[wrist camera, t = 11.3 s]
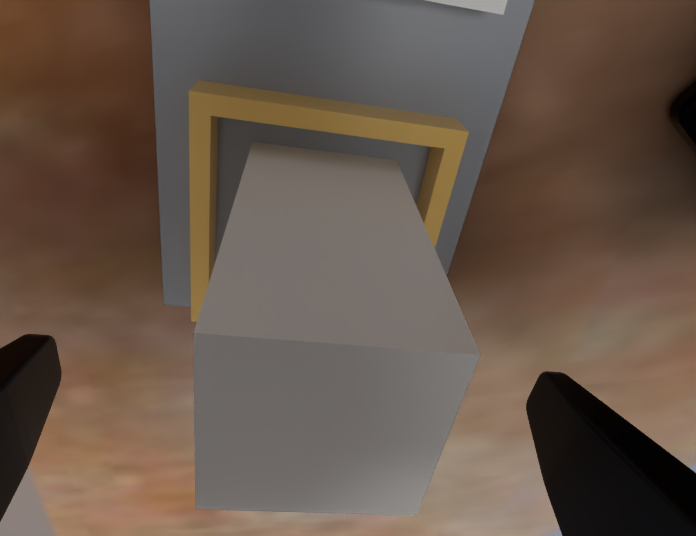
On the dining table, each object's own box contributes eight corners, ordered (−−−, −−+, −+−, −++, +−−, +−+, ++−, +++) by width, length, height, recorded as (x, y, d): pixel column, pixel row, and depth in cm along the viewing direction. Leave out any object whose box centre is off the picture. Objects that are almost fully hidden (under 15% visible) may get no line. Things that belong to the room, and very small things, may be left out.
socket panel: (132, -602, 8) (88, -743, 6) (657, -428, 9) (729, -507, 7) (168, 293, 16) (153, 328, 15) (426, 317, 18) (438, 350, 16)
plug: (252, 141, 13) (193, 332, 6) (396, 160, 14) (480, 354, 7) (244, 282, 16) (195, 528, 9) (367, 293, 16) (409, 533, 9)
